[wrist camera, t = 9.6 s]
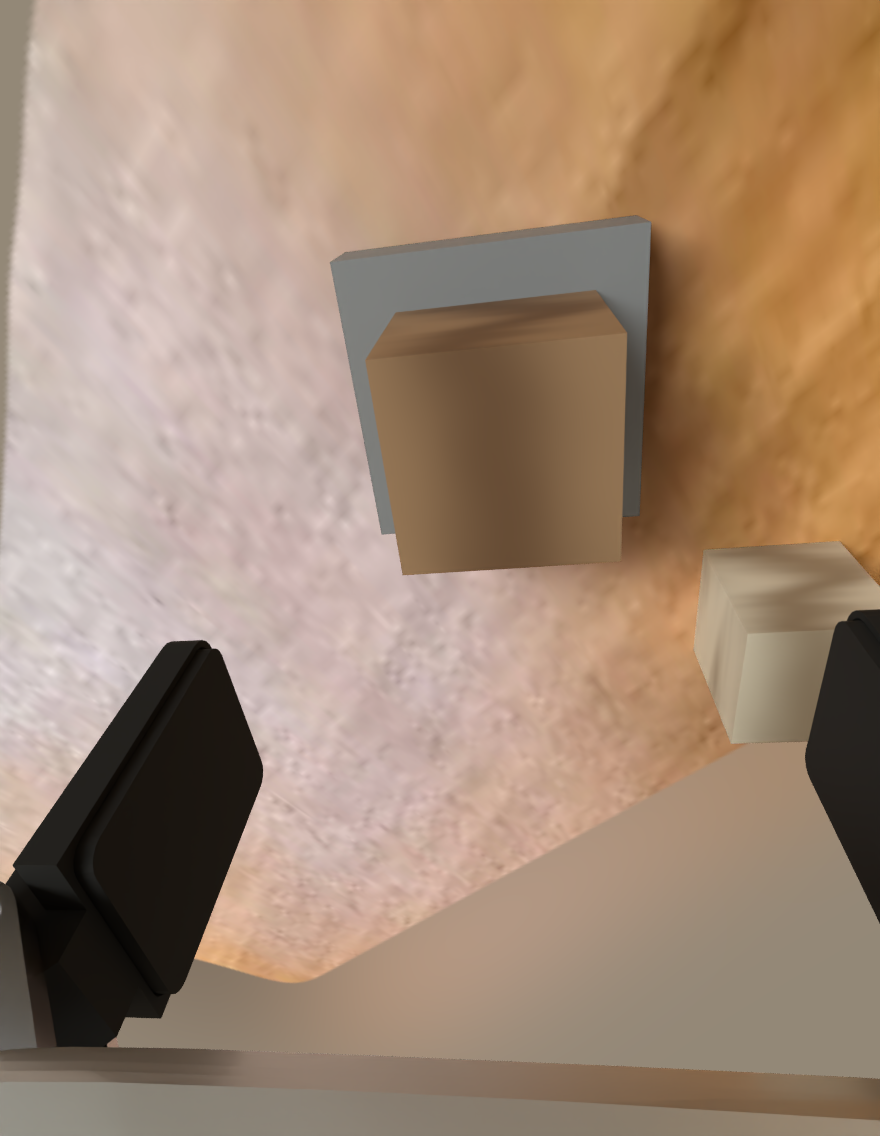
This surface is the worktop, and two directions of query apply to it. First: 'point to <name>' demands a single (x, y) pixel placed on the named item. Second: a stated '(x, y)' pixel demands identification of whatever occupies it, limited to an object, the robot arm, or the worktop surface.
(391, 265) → the slate slab
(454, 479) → the walnut block
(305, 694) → the worktop surface
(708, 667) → the maple block
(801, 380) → the worktop surface
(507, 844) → the worktop surface
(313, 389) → the worktop surface
